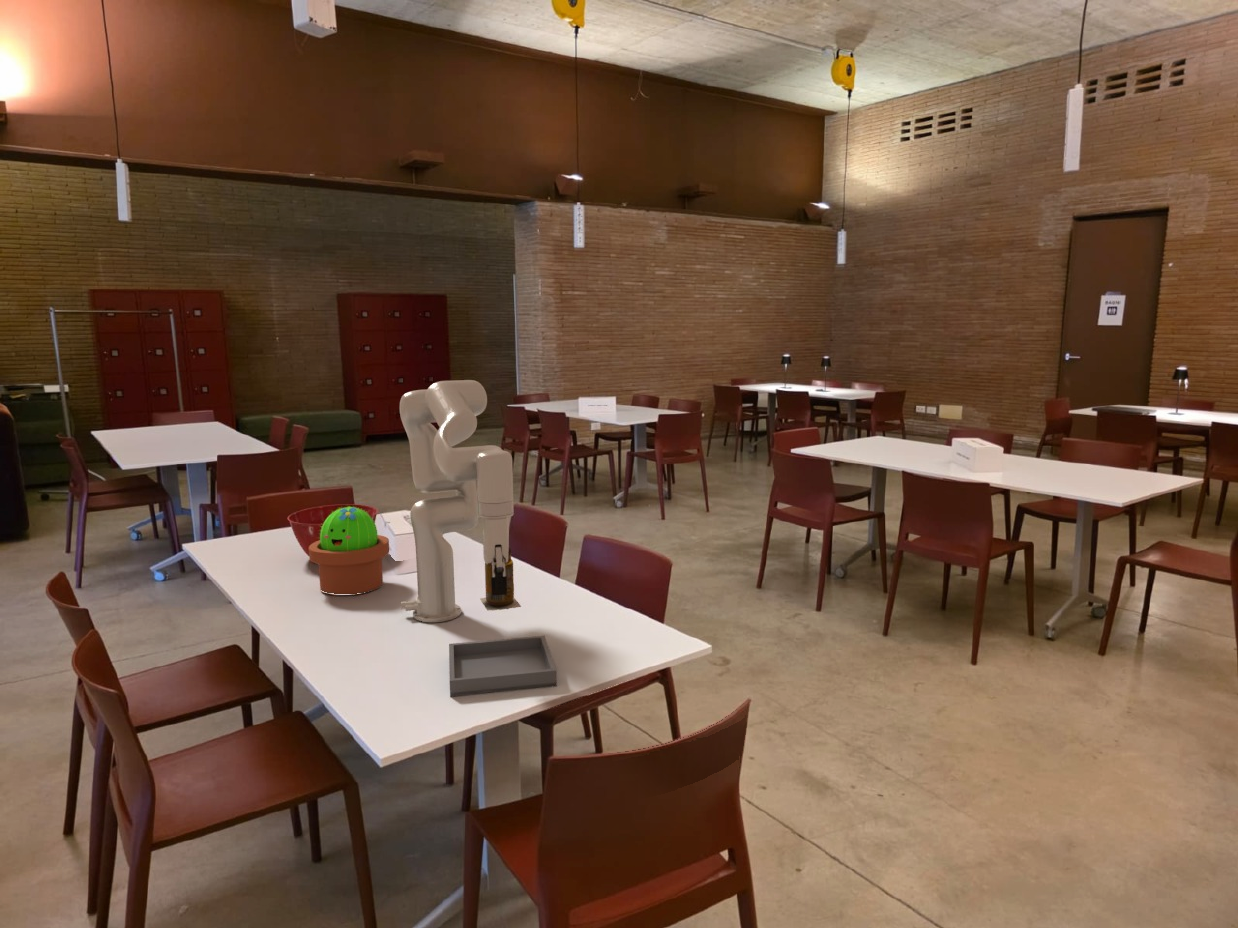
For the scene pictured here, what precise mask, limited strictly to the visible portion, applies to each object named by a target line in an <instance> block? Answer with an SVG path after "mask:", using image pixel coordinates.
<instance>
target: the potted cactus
mask: <svg viewBox="0 0 1238 928" xmlns="http://www.w3.org/2000/svg"><path fill="white" fill-rule="evenodd" d="M356 507H357V506H356ZM339 508H340V507H339ZM339 508H338V510H336V511H334V512H332V514H330V515H329V516H328V517H327V519H326V520H325V522H323V523H324V524H323V526H321V527H322V529H321V530H320V531H321V533H320V540H319V541H316V542H314V543H312V544H311V545H310V546H309V556H308V557H309V561H310V562H311V563H314V564H317V565H318V571H319V572H318V574H319V588H320V591H321V590H322V591H324V592H327V593H334V594H357V593H364V592H368V591H371V590H373V591H375V589H376V590H377V589H379V588H381V586H382V585H383V582H384V580H383V579H384V576H383V563H382V562H383V561H382V559H383V558H384V557H386V556H388V554H389V553H390V540H389V538H388V537H387V536H385V535H380V534H378V529H377V525H376V520H375V521H373V519H372V518H371V517H370V516H369V515H368V514H367V513H366V512H365V511H363V510H361V509H362V508H361V509H359V508H355V507H354V506H353V507H350V506H349V507H344V508H340V509H339ZM374 522H375V523H374ZM322 591H321V592H322ZM371 592H372V591H371ZM368 593H369V592H368ZM364 594H365V593H364Z"/></svg>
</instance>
